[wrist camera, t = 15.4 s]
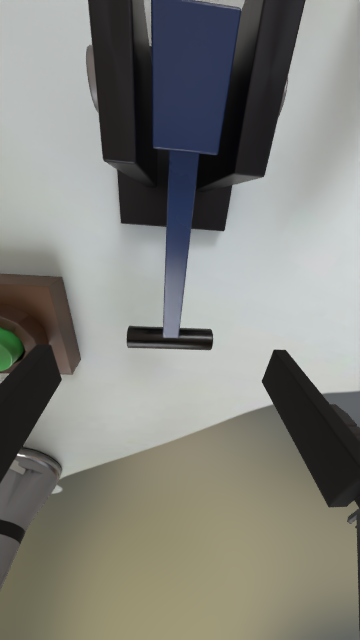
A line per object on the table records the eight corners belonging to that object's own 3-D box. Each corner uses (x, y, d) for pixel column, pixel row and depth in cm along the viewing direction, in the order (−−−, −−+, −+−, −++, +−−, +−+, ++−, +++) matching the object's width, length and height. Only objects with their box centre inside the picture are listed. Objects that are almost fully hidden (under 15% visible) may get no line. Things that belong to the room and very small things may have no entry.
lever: (206, 334, 16) (210, 359, 15) (131, 332, 16) (127, 356, 14) (279, 48, 7) (316, 19, 5) (95, 20, 6) (66, -22, 5)
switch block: (81, 359, 26) (65, 386, 22) (-2, 357, 25) (-33, 385, 21) (62, 276, 21) (37, 294, 17) (-44, 271, 20) (-96, 288, 16)
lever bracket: (221, 229, 19) (293, 268, 8) (123, 222, 18) (54, 253, 7) (246, 72, 14) (542, -422, 3) (113, 53, 13) (-165, -687, 2)
